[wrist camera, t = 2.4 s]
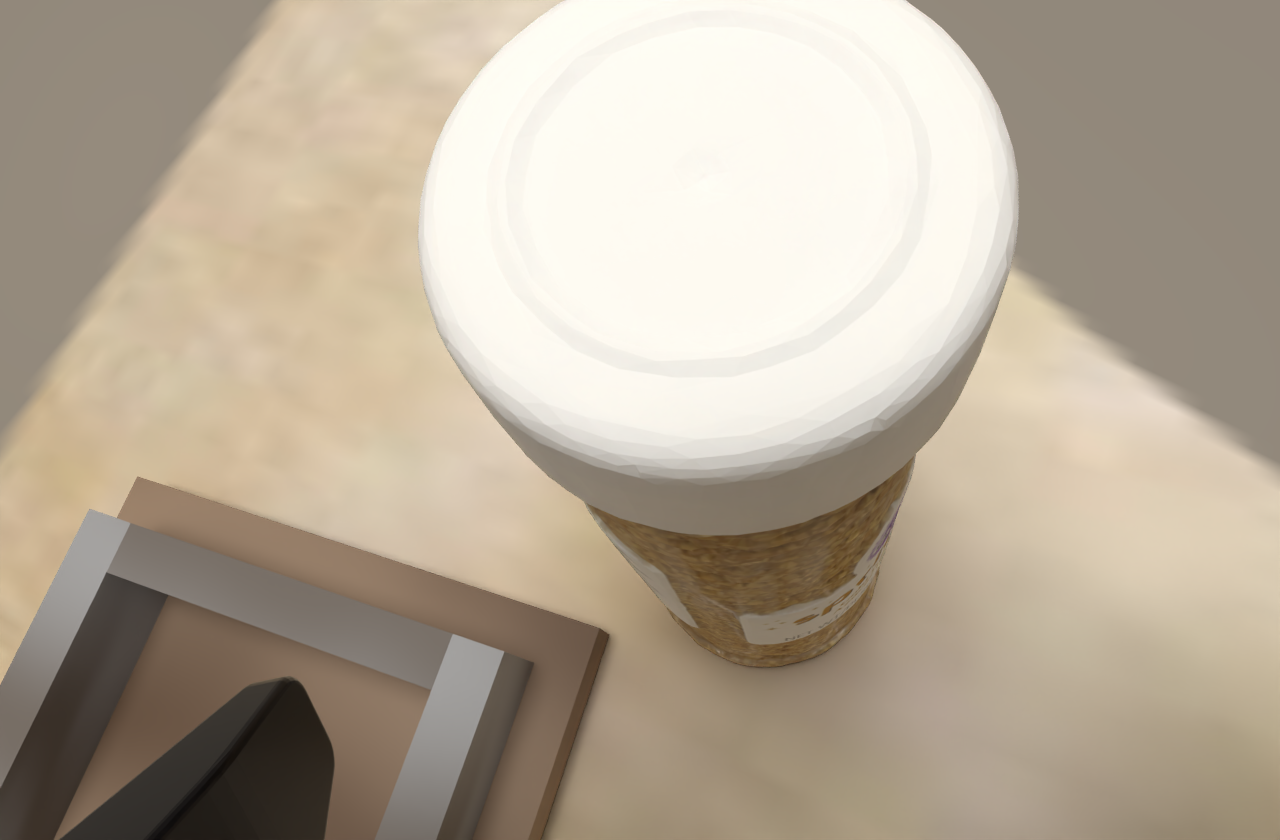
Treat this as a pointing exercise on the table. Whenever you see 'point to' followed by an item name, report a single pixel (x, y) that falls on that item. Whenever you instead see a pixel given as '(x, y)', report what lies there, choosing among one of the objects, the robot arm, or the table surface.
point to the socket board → (288, 673)
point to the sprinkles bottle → (725, 284)
